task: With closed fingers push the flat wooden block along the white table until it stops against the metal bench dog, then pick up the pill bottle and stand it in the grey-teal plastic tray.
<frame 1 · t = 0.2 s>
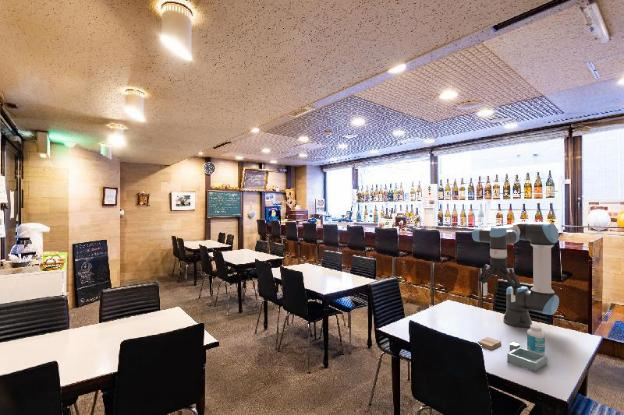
hand: (498, 298, 161), 27 cm above the table, fingers open, 13 cm apart
tray: (526, 363, 149), on the table
bench dog: (514, 354, 158), on the table
pill bottle: (536, 353, 158), on the table
flat wooden block: (489, 346, 168), on the table
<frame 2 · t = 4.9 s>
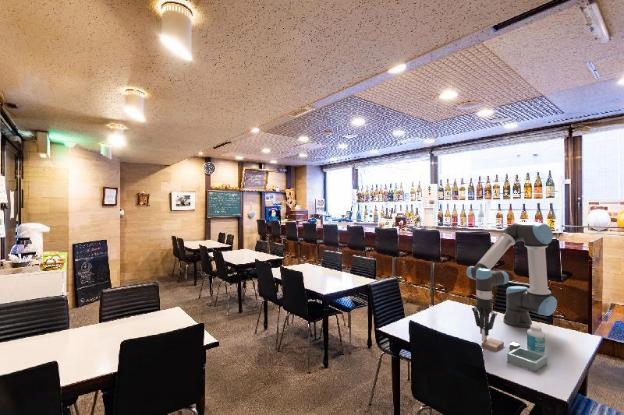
hand: (484, 340, 170), 1 cm above the table, fingers closed
flat wooden block: (492, 347, 167), on the table, touching gripper
everything else where it was.
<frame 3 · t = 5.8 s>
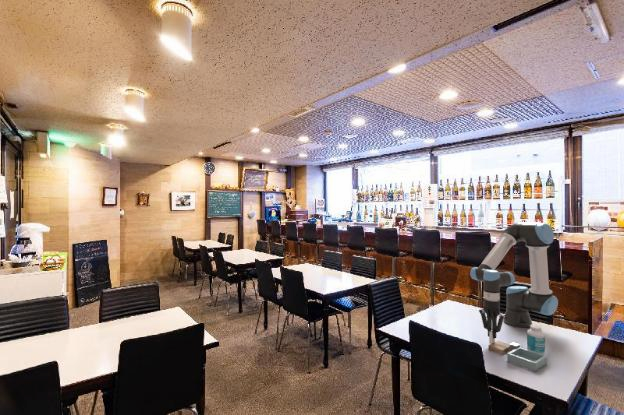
hand: (492, 343, 167), 1 cm above the table, fingers closed
flat wooden block: (500, 350, 163), on the table, touching gripper
everything else where it was.
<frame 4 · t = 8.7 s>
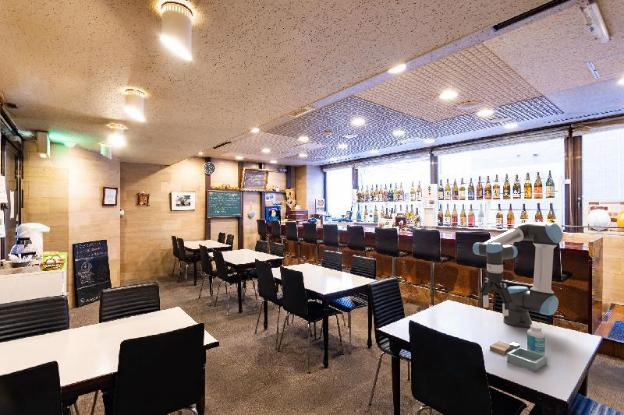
hand: (495, 311, 167), 18 cm above the table, fingers open, 13 cm apart
flat wooden block: (501, 350, 163), on the table
everything else where it was.
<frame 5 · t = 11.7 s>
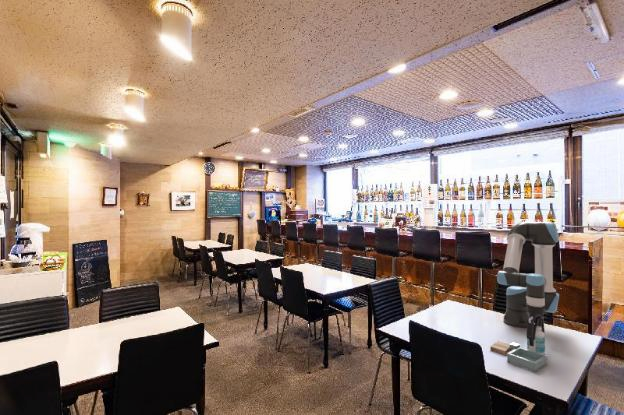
hand: (535, 349, 158), 2 cm above the table, fingers closed on pill bottle, 7 cm apart
pill bottle: (535, 353, 158), on the table, touching gripper
everything else where it was.
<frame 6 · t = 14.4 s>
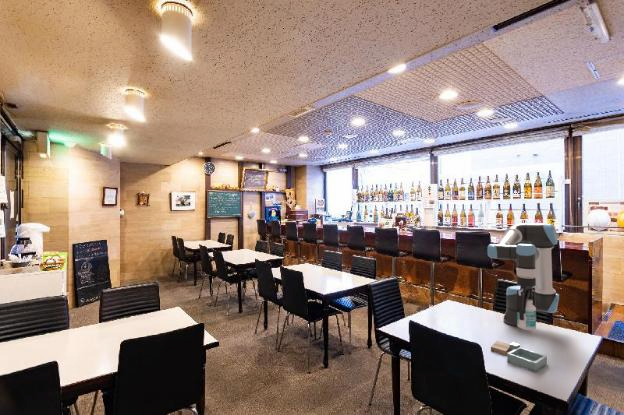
hand: (526, 324, 148), 18 cm above the table, fingers closed on pill bottle, 7 cm apart
pill bottle: (526, 328, 148), point 16 cm above the table, touching gripper
everything else where it was.
when the fingers open (5 cm above the table, at t = 17.2 s): pill bottle drops 2 cm, resting on tray.
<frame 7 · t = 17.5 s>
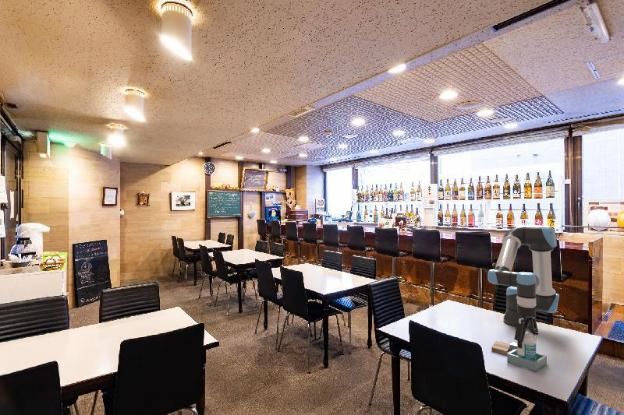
hand: (526, 351, 149), 6 cm above the table, fingers open, 11 cm apart
pill bottle: (526, 361, 149), point 1 cm above the table, touching tray
everything else where it was.
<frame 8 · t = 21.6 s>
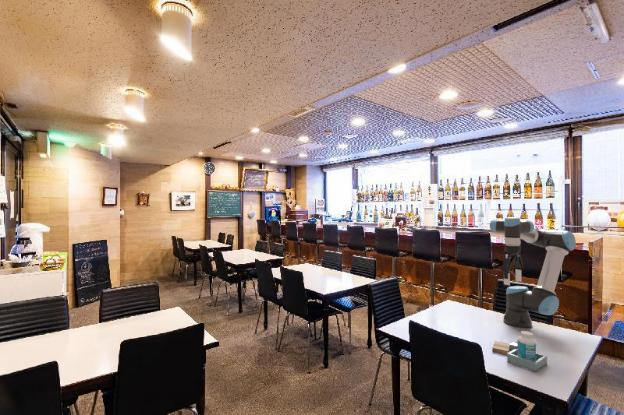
hand: (512, 282, 174), 32 cm above the table, fingers open, 13 cm apart
nothing on the table moved.
at the end: flat wooden block inside the target area (1.0 cm from its centre), on the table; pill bottle 0.1 cm from the tray (horizontally); pill bottle tilted 0° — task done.
